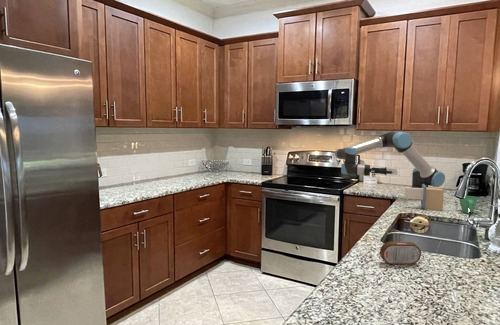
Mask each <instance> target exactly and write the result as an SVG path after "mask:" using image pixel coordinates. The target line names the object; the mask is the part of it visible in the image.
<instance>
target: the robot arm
mask: <svg viewBox="0 0 500 325" xmlns="http://www.w3.org/2000/svg"><path fill="white" fill-rule="evenodd" d="M383 148H392V149H393V148H394V150H396V151H397V152H398V153H400V154H402V155H403V156H404V157H405V158H406V159H407V160H408V162H409V163H411V165H412V166H414V168H413V169H412V174H411V175H412V177H411V178H412V180H411V187H410V188H422V184H424V185H425V186H426V187H432V188H441V186H443V184H444V183H445V181H446V180H445V179H446V176H445V173H444V172H442V171H441V170H440V171H439V170H438V169H437V168H436V167H435V166H433V165H430V164H429V163H428V162H427V161H426V159H424V157H423V156H422V155H421V154H420V153H419V151H418V150H417V149H416V148H415V147H414V146H413V140H412V136H411V134H409V133H408V132H405V131H389V132H385V133H383V134H380V135H376V137H374V138H372V139H368V140H365V141H363V142H359V143H357V144H354V145H350V146H346V147H344V148H337V149H336V150H335V151H334V156H335V158H337V159H339V160H344V163H341V166H340V172H341V174H343V175H354V176H355V175H356V176H359V177H360V176H370V174H375V175H376V174H379V175H384V176H387V175H394V176H398V169H397V168H389V167H388V168H387V167H386V166H385V167H376V166H375V167H373V166H372V167H371V164H361V163H357V164H356V157H357V155H360V154H363V153H366V152H369V151H373V150H376V149H383Z"/></svg>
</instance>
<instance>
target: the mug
mask: <svg viewBox="0 0 500 325" xmlns="http://www.w3.org/2000/svg"><path fill="white" fill-rule="evenodd" d="M465 196H466V198H465V199H459V204H460V208H461V211H462V213H464V214H468V213H467V212H468V208H469V209H470V212H471V213H470V214H472V213H473V212H474V210H475V208H476V206H477V203H478V197H477V196H472V195H465Z"/></svg>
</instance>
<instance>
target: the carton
mask: <svg viewBox="0 0 500 325" xmlns="http://www.w3.org/2000/svg"><path fill="white" fill-rule="evenodd" d="M444 192H445V190H444V189H443V188H441V187H432V186H428V187H426V203H425V209H429V210H428V211H437V210H440V211H439V212H442V211H443V209H444ZM425 209H424V210H425Z"/></svg>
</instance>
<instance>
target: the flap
mask: <svg viewBox="0 0 500 325" xmlns="http://www.w3.org/2000/svg"><path fill="white" fill-rule="evenodd" d="M404 199H409V200H410V199H411V200H420V205H421V207H422V209H423V210H425V203H426V186H425V185H424V184H422V188H411V187H407V186H406V187H404Z"/></svg>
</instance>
